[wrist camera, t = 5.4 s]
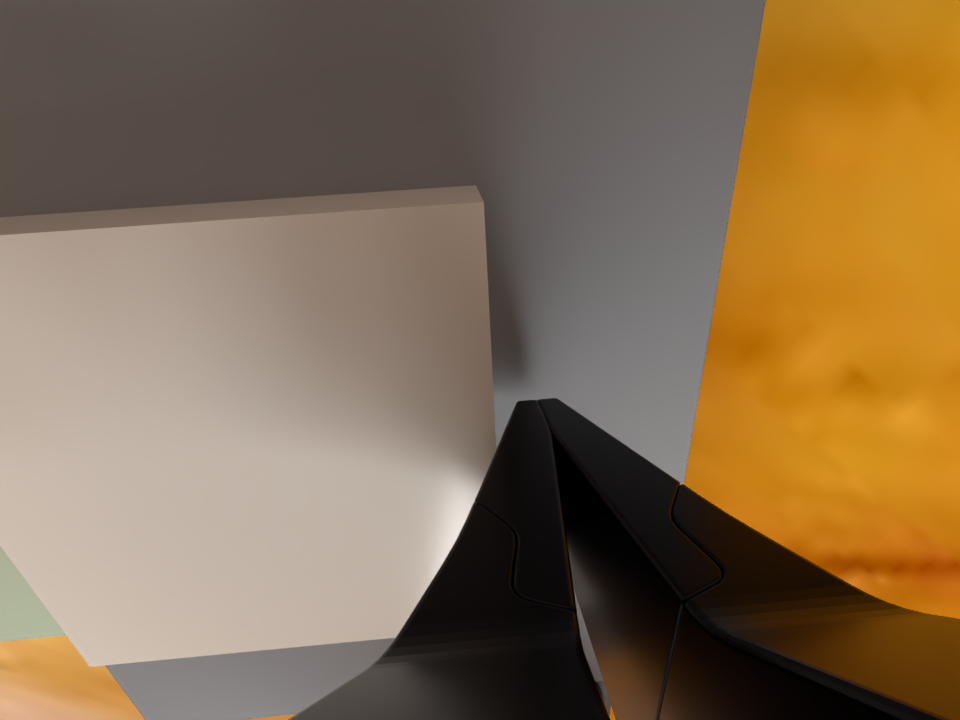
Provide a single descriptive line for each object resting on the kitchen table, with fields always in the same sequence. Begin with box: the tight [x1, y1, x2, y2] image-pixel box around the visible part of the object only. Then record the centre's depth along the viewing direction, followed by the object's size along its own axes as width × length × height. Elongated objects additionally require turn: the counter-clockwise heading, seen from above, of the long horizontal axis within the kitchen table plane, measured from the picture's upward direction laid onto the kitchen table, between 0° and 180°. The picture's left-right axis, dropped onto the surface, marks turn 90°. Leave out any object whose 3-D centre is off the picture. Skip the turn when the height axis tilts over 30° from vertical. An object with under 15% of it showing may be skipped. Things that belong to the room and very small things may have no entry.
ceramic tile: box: [0, 185, 496, 667], centre depth 9 cm, size 9×9×2 cm
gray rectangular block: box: [0, 0, 765, 720], centre depth 12 cm, size 22×16×4 cm
